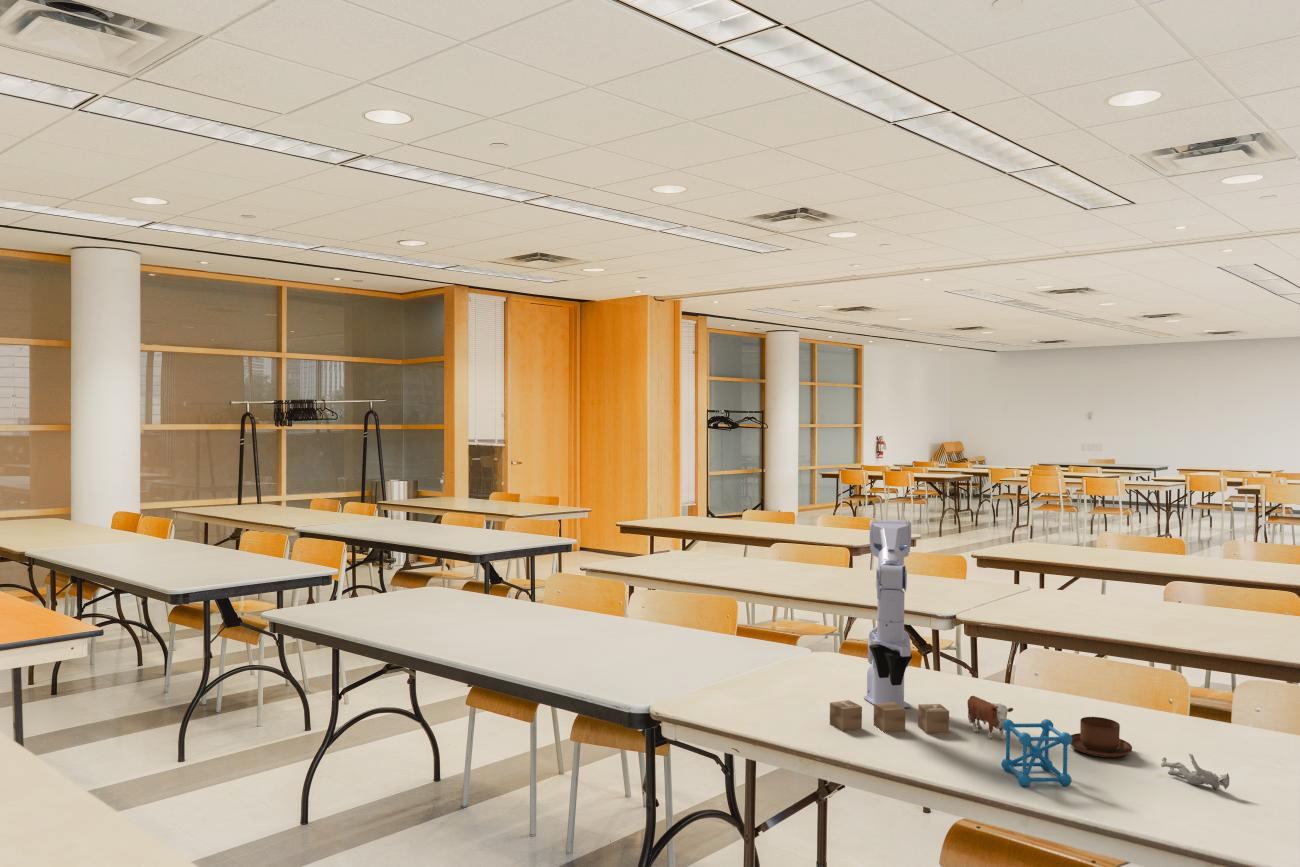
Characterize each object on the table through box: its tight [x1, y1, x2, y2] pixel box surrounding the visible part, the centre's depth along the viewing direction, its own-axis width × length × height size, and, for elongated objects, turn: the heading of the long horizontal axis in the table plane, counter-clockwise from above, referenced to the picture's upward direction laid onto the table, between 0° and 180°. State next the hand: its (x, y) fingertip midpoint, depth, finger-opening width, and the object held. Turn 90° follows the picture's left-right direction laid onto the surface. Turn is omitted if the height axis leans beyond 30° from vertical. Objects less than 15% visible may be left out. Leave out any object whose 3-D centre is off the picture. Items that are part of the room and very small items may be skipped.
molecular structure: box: [1000, 718, 1073, 787], centre depth 181 cm, size 10×10×10 cm
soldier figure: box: [1160, 753, 1230, 790], centre depth 179 cm, size 8×5×12 cm
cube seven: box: [917, 703, 950, 735], centre depth 208 cm, size 5×5×5 cm
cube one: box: [829, 699, 863, 732], centre depth 210 cm, size 5×5×5 cm
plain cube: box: [873, 702, 906, 734], centre depth 209 cm, size 5×5×5 cm
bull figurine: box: [967, 695, 1014, 741], centre depth 205 cm, size 4×13×8 cm, turn 15°
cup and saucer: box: [1069, 716, 1133, 758], centre depth 196 cm, size 12×12×6 cm
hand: (889, 681), depth 209 cm, fingers open, 5 cm apart
